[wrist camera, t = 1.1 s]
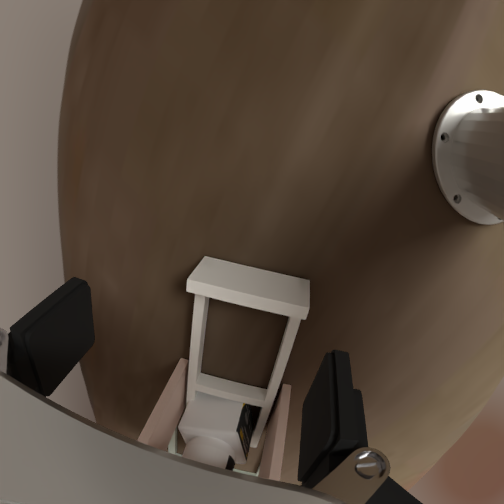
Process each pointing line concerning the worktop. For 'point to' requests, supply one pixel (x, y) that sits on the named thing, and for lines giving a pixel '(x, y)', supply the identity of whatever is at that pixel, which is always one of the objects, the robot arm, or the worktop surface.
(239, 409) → the medicine bottle
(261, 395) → the rack
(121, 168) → the worktop surface
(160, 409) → the cubby
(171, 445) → the frame
